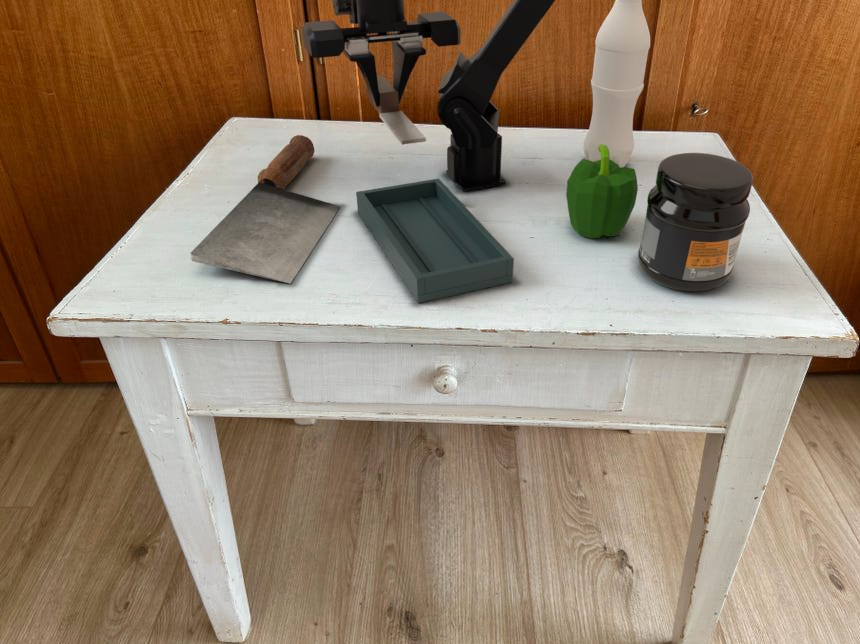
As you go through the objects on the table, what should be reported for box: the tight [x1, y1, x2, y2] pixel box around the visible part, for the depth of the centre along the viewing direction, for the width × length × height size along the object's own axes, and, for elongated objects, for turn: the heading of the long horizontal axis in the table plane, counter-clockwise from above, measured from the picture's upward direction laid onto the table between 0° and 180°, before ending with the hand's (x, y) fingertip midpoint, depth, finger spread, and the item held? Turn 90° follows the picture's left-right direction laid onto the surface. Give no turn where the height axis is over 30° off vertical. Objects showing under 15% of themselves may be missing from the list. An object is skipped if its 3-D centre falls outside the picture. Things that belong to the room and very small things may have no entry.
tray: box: [355, 177, 515, 304], centre depth 82 cm, size 11×22×3 cm, turn 24°
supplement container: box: [637, 152, 754, 292], centre depth 76 cm, size 10×10×12 cm
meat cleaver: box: [190, 134, 341, 285], centre depth 88 cm, size 34×11×4 cm, turn 173°
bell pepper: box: [565, 145, 639, 239], centre depth 84 cm, size 8×8×10 cm
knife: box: [366, 75, 427, 145], centre depth 90 cm, size 3×17×3 cm, turn 22°
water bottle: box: [583, 0, 651, 167], centre depth 95 cm, size 7×7×25 cm
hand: (387, 104), depth 92 cm, fingers closed on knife, 2 cm apart
